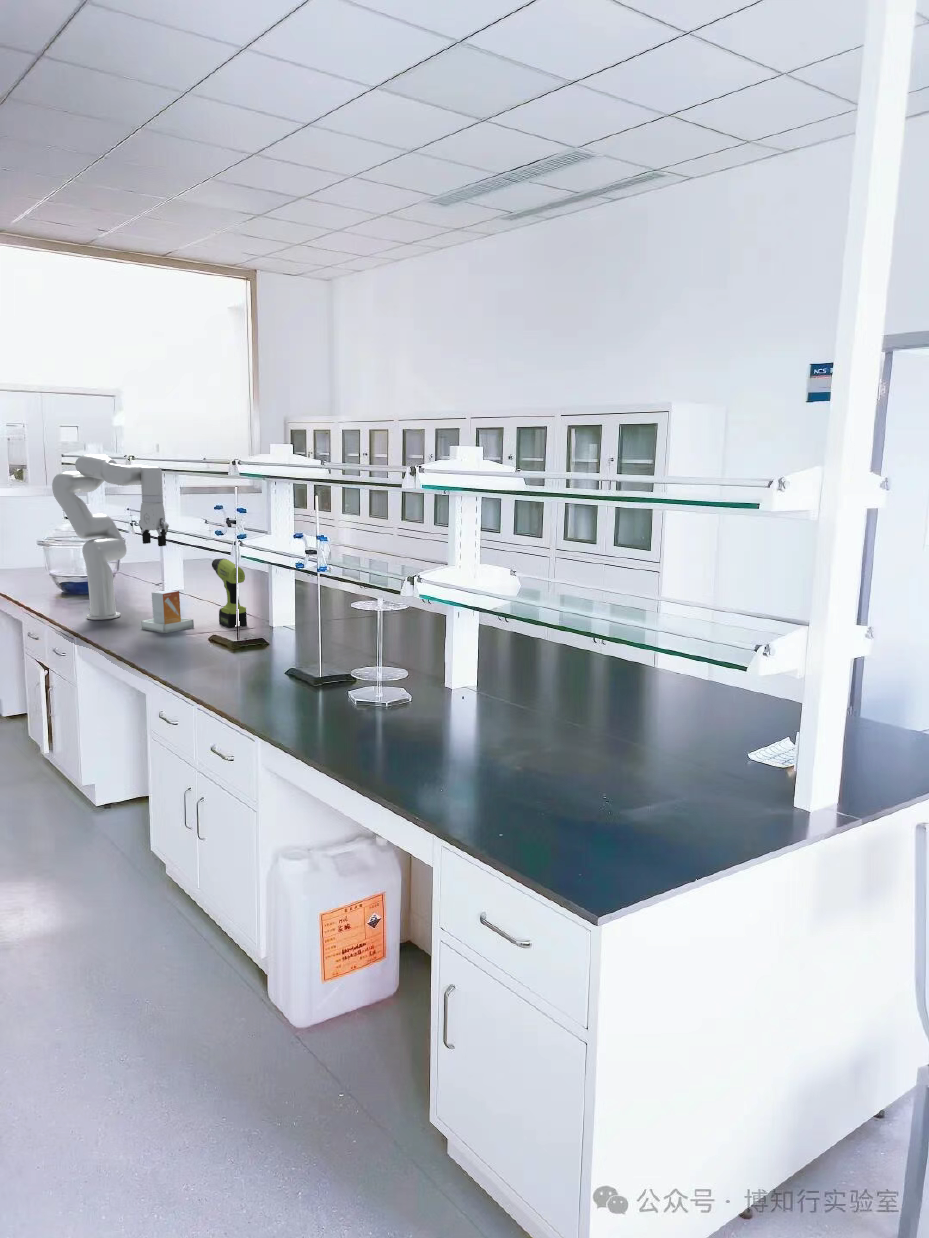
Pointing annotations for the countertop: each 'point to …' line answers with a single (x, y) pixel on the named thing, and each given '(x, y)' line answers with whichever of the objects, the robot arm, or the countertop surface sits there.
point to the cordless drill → (230, 593)
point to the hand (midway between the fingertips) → (154, 544)
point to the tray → (167, 625)
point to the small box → (166, 607)
